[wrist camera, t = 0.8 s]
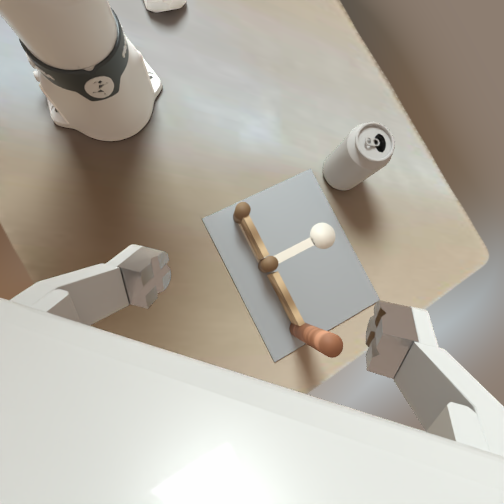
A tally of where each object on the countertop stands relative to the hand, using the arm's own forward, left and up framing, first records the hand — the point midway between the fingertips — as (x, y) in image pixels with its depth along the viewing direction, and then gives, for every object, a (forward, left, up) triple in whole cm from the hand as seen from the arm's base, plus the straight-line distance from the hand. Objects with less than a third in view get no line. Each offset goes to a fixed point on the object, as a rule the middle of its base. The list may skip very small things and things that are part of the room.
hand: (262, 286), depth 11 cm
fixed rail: (-5, +8, -37) cm, 38 cm away
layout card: (+2, +13, -38) cm, 40 cm away
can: (-9, +29, -38) cm, 48 cm away
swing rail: (+8, +8, -37) cm, 39 cm away
